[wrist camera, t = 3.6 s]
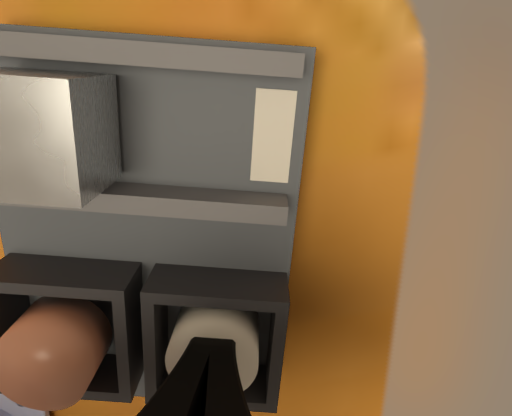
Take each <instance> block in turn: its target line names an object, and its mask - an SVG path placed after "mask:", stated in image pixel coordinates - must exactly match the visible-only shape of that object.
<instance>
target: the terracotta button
mask: <svg viewBox="0 0 512 416" xmlns="http://www.w3.org/2000/svg"><path fill="white" fill-rule="evenodd" d="M111 342H112V328H111V324H110V322H109V320H108V318H107V317H106V315H105V314H104V313H103V311H102V310H101V309H100V308H99V307H97V306H96V305H95V304H94V303H92V302H90V301H89V300H87V299H73V298H59V297H45V296H43V297H41V298H39V299H37V300H36V301H35V302H34V303H33V304H32V305H31V306H30V307H29V308H28V309H27V310H26V311H25V312H24V313H23V314H22V315H21V316H20V318H19V319H18V320H17V321H16V322H15V323H14V324H13V325H12V326H11V327H10V328H9V329H8V330H7V331H6V332H5V333H4V334H3V335H2V337H1V338H0V392H1V393H2V394H3V395H5V396H6V397H7V398H9V399H10V400H12V401H13V402H15V403H17V404H19V405H22V406H24V407H27V408H30V409H35V410H41V411H56V410H62V409H65V408H68V407H70V406H72V405H74V404H75V403H77V402H78V401H79V400H80V399H81V398H82V397H83V395H84V394H85V392H86V390H87V388H88V386H89V384H90V382H91V381H92V379H93V377H94V375H95V373H96V371H97V369H98V368H99V366H100V364H101V362H102V360H103V358H104V356H105V355H106V353H107V351H108V349H109V347H110V345H111Z"/></svg>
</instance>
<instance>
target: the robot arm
mask: <svg viewBox="0 0 512 416" xmlns="http://www.w3.org/2000/svg"><path fill="white" fill-rule="evenodd" d="M0 416H50V415H49V411H41V410H35V409H30V408H27V407H24V406H22V405H19V404H17V403H15V402H13V401H12V400H10V399H9V398H7V397H6V396H5V395H3V394H0ZM137 416H251V414H250V411H249V408H248V405H247V402H246V398H245V395H244V391H243V388H242V384H241V380H240V376H239V371H238V365H237V359H236V342H235V341H234V340H233V339H219V338H205V337H193V338H192V339H191V340H190V342H189V344H188V346H187V347H186V349H185V351H184V353H183V354H182V356H181V357H180V359H179V361H178V362H177V364H176V365H175V367H174V368H173V370H172V371H171V372H170V374H169V375H168V377H167V378H166V379H165V381H164V382H163V384H162V385H161V386H160V388H159V389H158V390H157V391H156V393H155V394H154V395H153V396H152V398H151V399H150V400H149V401H148V403H147V404H146V405H145V406H144V408H143V409H142V410H141V411H140V412H139V413H138V414H137Z"/></svg>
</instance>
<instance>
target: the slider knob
mask: <svg viewBox="0 0 512 416" xmlns="http://www.w3.org/2000/svg"><path fill="white" fill-rule="evenodd" d="M121 176H122V173H121V156H120V140H119V123H118V107H117V91H116V74H104V73H90V72H77V71H64V70H50V69H37V68H23V67H10V66H9V67H0V203H9V204H23V205H37V206H51V207H64V208H78V209H82V208H83V207H84V206H86V205H87V204H88V203H89V202H90V201H92V200H93V199H94V198H95V197H97V196H98V195H99V194H100V193H101V192H103V191H104V190H105V189H106V188H108V187H109V186H110V185H111V184H112V183H114V182H115V181H116V180H117V179H119V178H120V177H121Z"/></svg>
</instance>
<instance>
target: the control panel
mask: <svg viewBox="0 0 512 416" xmlns="http://www.w3.org/2000/svg"><path fill="white" fill-rule="evenodd" d="M315 52H316V47H304V46H291V45H277V44H264V43H251V42H237V41H224V40H211V39H197V38H184V37H170V36H157V35H144V34H130V33H117V32H104V31H90V30H77V29H64V28H50V27H37V26H23V25H10V24H0V67H9V66H10V67H23V68H37V69H50V70H64V71H77V72H90V73H104V74H116V91H117V107H118V123H119V140H120V156H121V173H122V176H121V177H120V178H119V179H117V180H116V181H115V182H114V183H112V184H111V185H110V186H109V187H108V188H106V189H105V190H104V191H103V192H101V193H100V194H99V195H98V196H97V197H95V198H94V199H93V200H92V201H90V202H89V203H88V204H87V205H86V206H84V207H83V208H82V209H78V208H64V207H51V206H37V205H23V204H9V203H0V233H1V238H2V243H3V248H4V254H5V257H3V258H2V259H1V260H0V338H1V337H2V335H3V334H4V333H5V332H6V331H7V330H8V329H9V328H10V327H11V326H12V325H13V324H14V323H15V322H16V321H17V320H18V319H19V318H20V316H21V315H22V314H23V313H24V312H25V311H26V310H27V309H28V308H29V307H30V306H31V305H32V304H33V303H34V302H35V301H36V300H37V299H39V298H41V297H43V296H45V297H59V298H73V299H87V300H89V301H90V302H92V303H94V304H95V305H96V306H97V307H99V308H100V309H101V310H102V311H103V313H104V314H105V315H106V317H107V318H108V320H109V322H110V324H111V328H112V342H111V345H110V347H109V349H108V351H107V353H106V355H105V356H104V358H103V360H102V362H101V364H100V366H99V368H98V369H97V371H96V373H95V375H94V377H93V379H92V381H91V382H90V384H89V386H88V388H87V390H86V392H85V394H84V395H83V397H82V398H81V399H83V400H97V401H112V402H126V403H131V402H132V400H133V397H134V396H142V397H145V404H147V403H148V401H149V400H150V399H151V398H152V396H153V395H154V394H155V393H156V391H157V390H158V389H159V388H160V386H161V385H162V384H163V382H164V381H165V379H166V378H167V377H168V375H169V374H168V372H167V370H166V366H165V355H166V351H167V348H168V345H169V342H170V339H171V336H172V333H173V330H174V327H175V324H176V321H177V318H178V315H179V312H180V310H181V308H182V306H185V307H199V308H213V309H227V310H241V311H255V312H257V314H258V317H259V363H258V372H257V375H256V378H255V379H254V381H253V382H252V384H251V385H250V386H249V387H248V388H247V389H245V390H244V395H245V398H246V402H247V405H248V408H249V411H253V412H268V413H277V406H278V398H279V389H280V381H281V373H282V365H283V356H284V348H285V340H286V332H287V323H288V315H289V307H290V299H289V289H288V283H289V275H290V266H291V257H292V249H293V240H294V232H295V223H296V215H297V206H298V198H299V189H300V181H301V172H302V163H303V155H304V146H305V138H306V129H307V121H308V112H309V104H310V95H311V87H312V78H313V69H314V61H315ZM0 394H2V393H1V392H0Z"/></svg>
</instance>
